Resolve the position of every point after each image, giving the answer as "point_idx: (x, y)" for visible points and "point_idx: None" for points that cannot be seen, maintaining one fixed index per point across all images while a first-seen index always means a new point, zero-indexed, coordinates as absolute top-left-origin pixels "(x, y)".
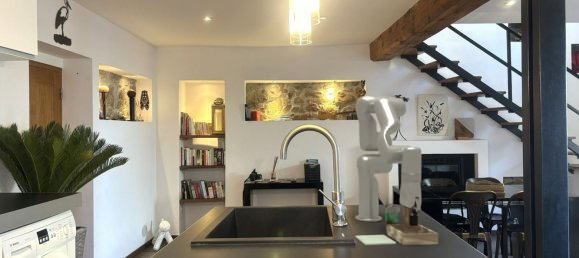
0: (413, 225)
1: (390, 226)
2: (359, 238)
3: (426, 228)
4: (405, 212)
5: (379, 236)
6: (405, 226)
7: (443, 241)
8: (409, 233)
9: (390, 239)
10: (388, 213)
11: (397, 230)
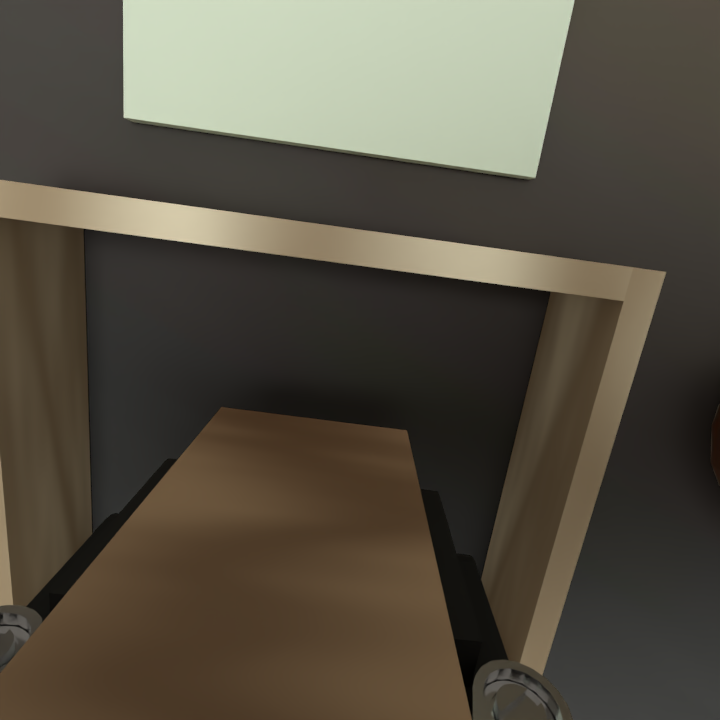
0: None
1: (530, 264)
2: None
3: None
4: (260, 617)
5: (474, 58)
6: (303, 422)
7: None
8: (499, 522)
9: (288, 132)
10: None
11: (235, 223)
